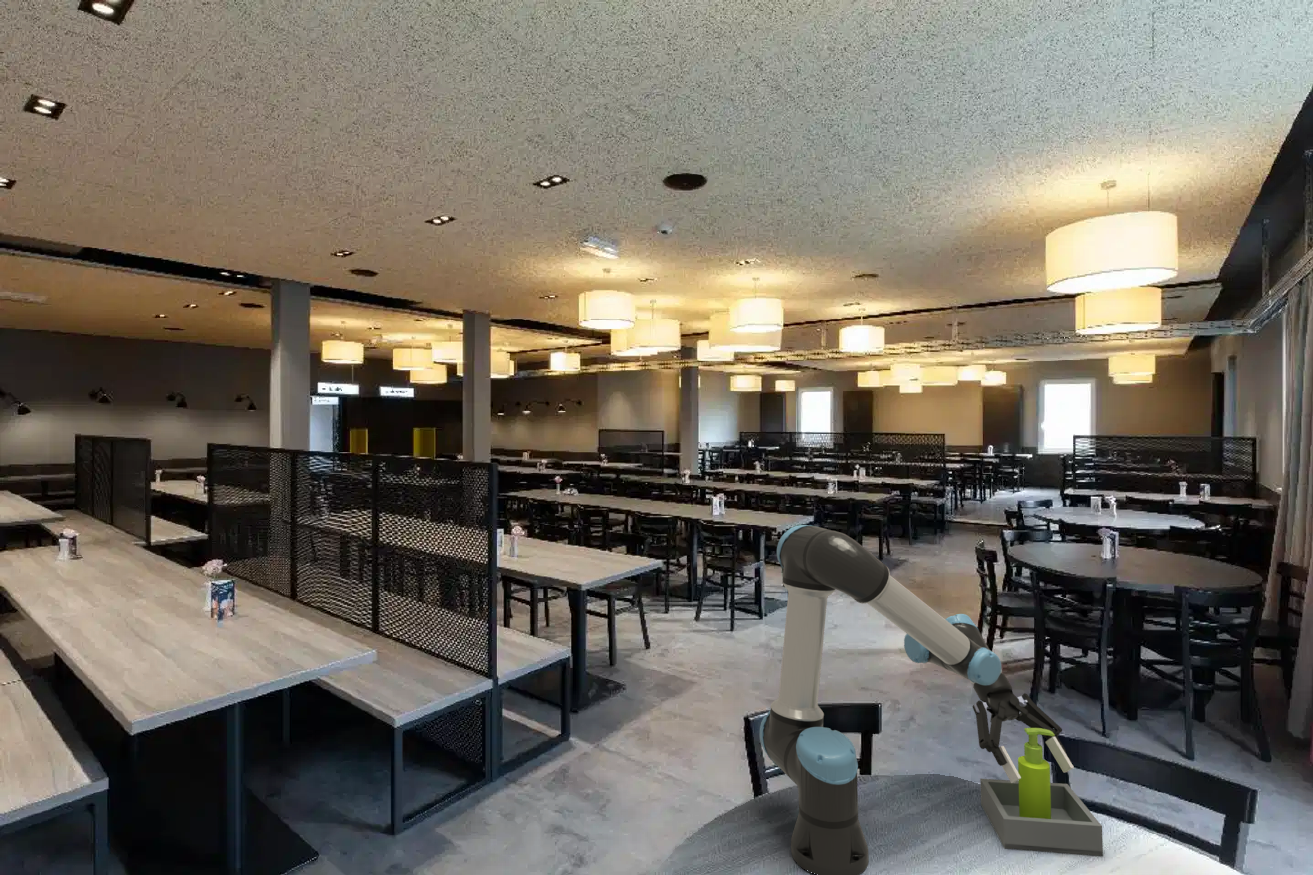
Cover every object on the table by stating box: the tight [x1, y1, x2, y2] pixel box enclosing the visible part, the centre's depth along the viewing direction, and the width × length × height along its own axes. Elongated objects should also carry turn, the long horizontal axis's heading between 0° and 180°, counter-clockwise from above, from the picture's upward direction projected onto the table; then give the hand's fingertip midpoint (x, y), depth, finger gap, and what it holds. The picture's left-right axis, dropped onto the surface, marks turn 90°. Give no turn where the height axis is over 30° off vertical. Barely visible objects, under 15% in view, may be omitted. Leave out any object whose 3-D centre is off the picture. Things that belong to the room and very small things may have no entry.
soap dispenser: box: [1017, 727, 1055, 819], centre depth 140 cm, size 6×7×20 cm
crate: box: [979, 778, 1104, 857], centre depth 140 cm, size 18×16×6 cm
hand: (1043, 775), depth 139 cm, fingers open, 13 cm apart
